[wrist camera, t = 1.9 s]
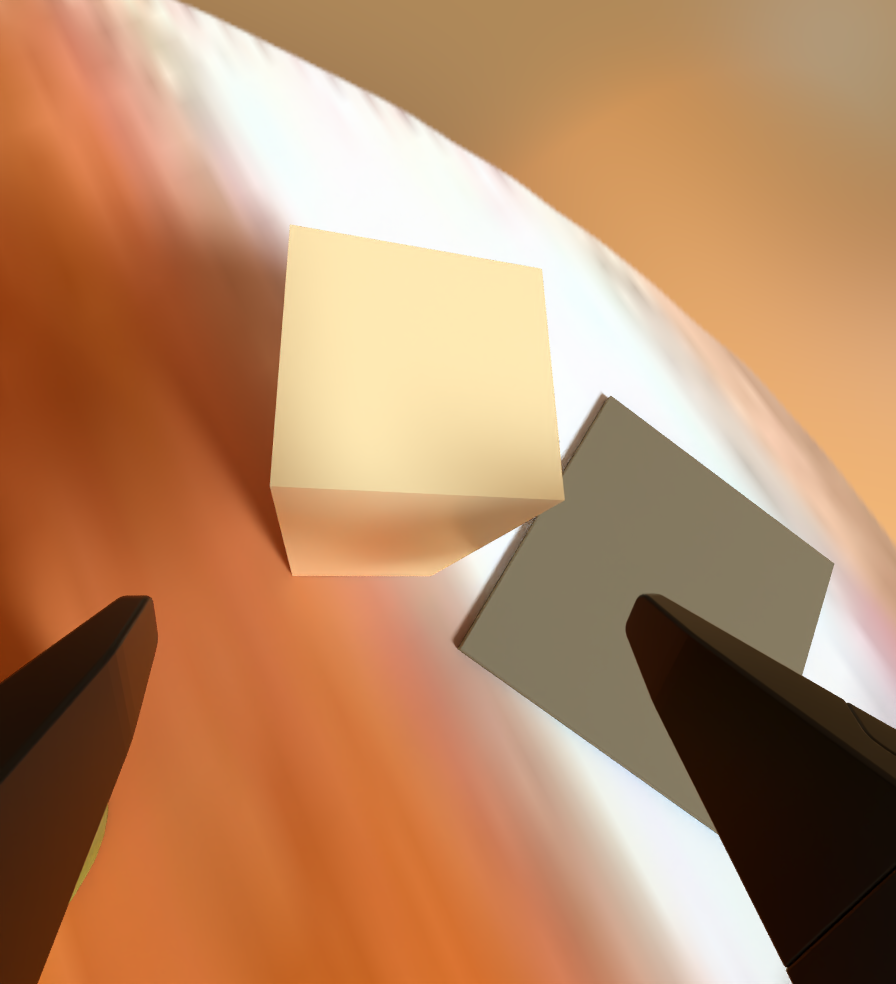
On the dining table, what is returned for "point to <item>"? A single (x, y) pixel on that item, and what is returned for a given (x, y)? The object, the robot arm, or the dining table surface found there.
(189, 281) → the dining table surface
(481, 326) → the tall cream pillar
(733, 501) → the mat
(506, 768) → the dining table surface
